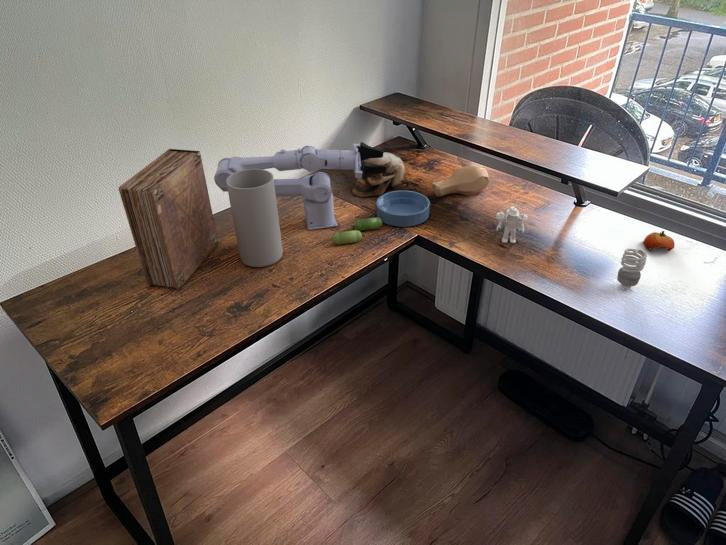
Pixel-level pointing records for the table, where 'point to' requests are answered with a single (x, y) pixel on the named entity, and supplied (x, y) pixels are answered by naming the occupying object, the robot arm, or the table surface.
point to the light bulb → (631, 268)
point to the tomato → (658, 241)
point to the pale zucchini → (347, 237)
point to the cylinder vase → (255, 216)
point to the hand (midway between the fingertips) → (384, 161)
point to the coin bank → (381, 176)
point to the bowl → (403, 208)
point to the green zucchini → (367, 224)
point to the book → (170, 217)
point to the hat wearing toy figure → (511, 222)
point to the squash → (463, 181)
